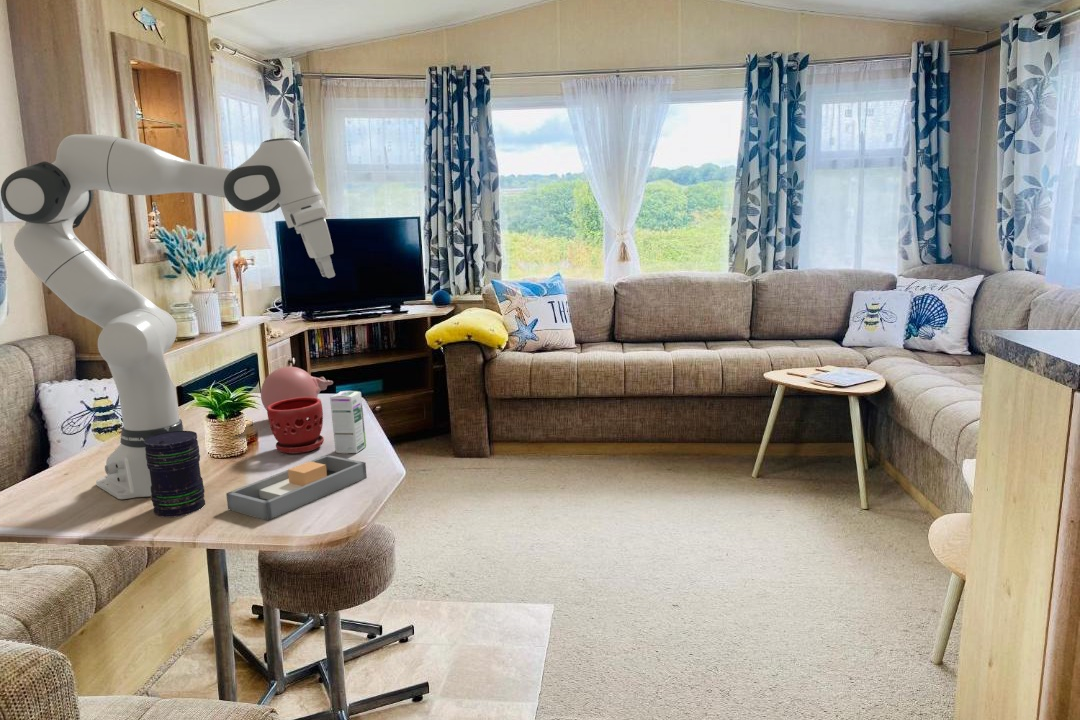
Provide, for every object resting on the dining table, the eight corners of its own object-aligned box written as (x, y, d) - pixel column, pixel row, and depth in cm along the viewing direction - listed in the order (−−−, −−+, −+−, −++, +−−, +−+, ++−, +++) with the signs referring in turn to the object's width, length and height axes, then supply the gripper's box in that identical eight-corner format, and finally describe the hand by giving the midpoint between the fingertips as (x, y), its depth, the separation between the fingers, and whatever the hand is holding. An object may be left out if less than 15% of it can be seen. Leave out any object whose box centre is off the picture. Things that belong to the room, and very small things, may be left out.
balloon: (339, 420, 222) (335, 367, 219) (265, 430, 215) (259, 375, 212) (332, 408, 237) (328, 358, 234) (262, 416, 229) (257, 365, 226)
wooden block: (289, 483, 167) (287, 469, 167) (310, 474, 172) (309, 461, 172) (305, 486, 165) (304, 473, 164) (327, 477, 170) (325, 464, 169)
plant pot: (309, 437, 207) (305, 393, 205) (335, 447, 198) (331, 401, 195) (262, 449, 198) (257, 403, 196) (287, 460, 189) (282, 412, 186)
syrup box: (356, 454, 192) (352, 396, 189) (334, 453, 193) (329, 395, 190) (366, 446, 197) (362, 390, 195) (344, 446, 199) (339, 390, 196)
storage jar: (173, 498, 167) (164, 430, 164) (215, 499, 165) (207, 430, 162) (142, 516, 157) (132, 444, 154) (187, 518, 155) (177, 445, 152)
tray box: (228, 509, 159) (226, 493, 158) (328, 469, 181) (327, 454, 181) (267, 520, 153) (266, 503, 152) (366, 477, 175) (365, 462, 174)
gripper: (288, 220, 175) (310, 280, 178) (294, 216, 156) (319, 283, 159) (316, 212, 177) (337, 271, 180) (325, 207, 158) (349, 273, 161)
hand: (329, 276), depth 169 cm, fingers open, 8 cm apart
